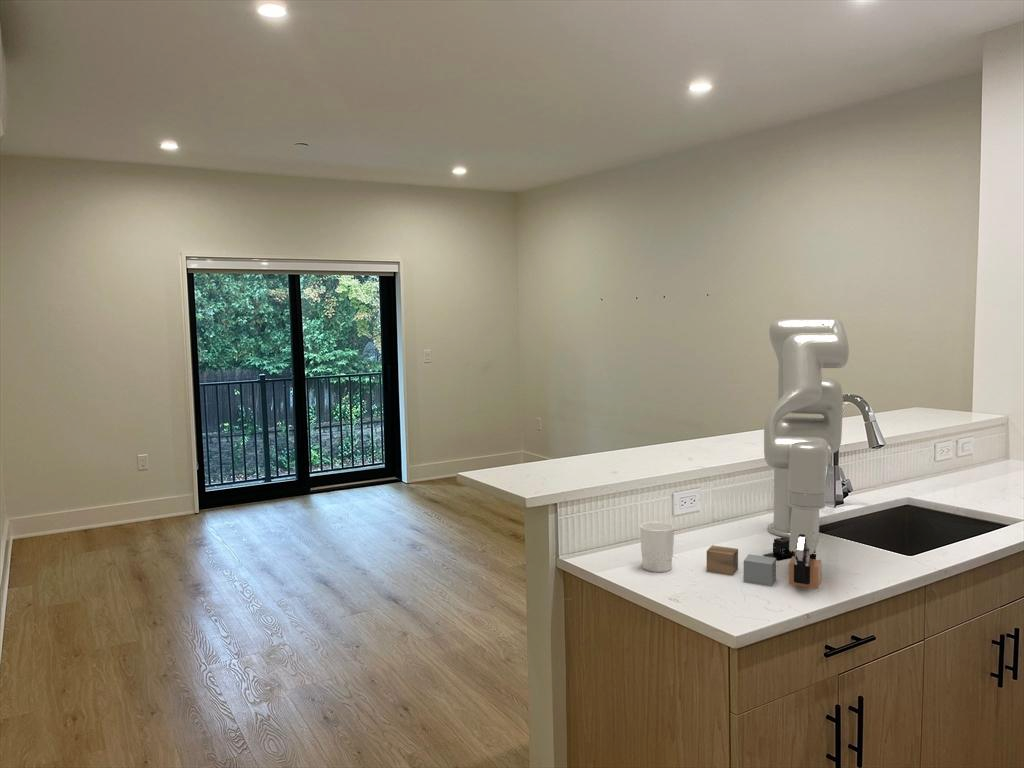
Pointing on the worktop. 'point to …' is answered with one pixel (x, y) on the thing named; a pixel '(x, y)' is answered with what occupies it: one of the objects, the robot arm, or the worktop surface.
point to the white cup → (657, 546)
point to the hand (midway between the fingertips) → (804, 576)
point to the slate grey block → (759, 570)
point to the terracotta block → (814, 573)
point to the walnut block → (722, 560)
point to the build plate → (781, 549)
